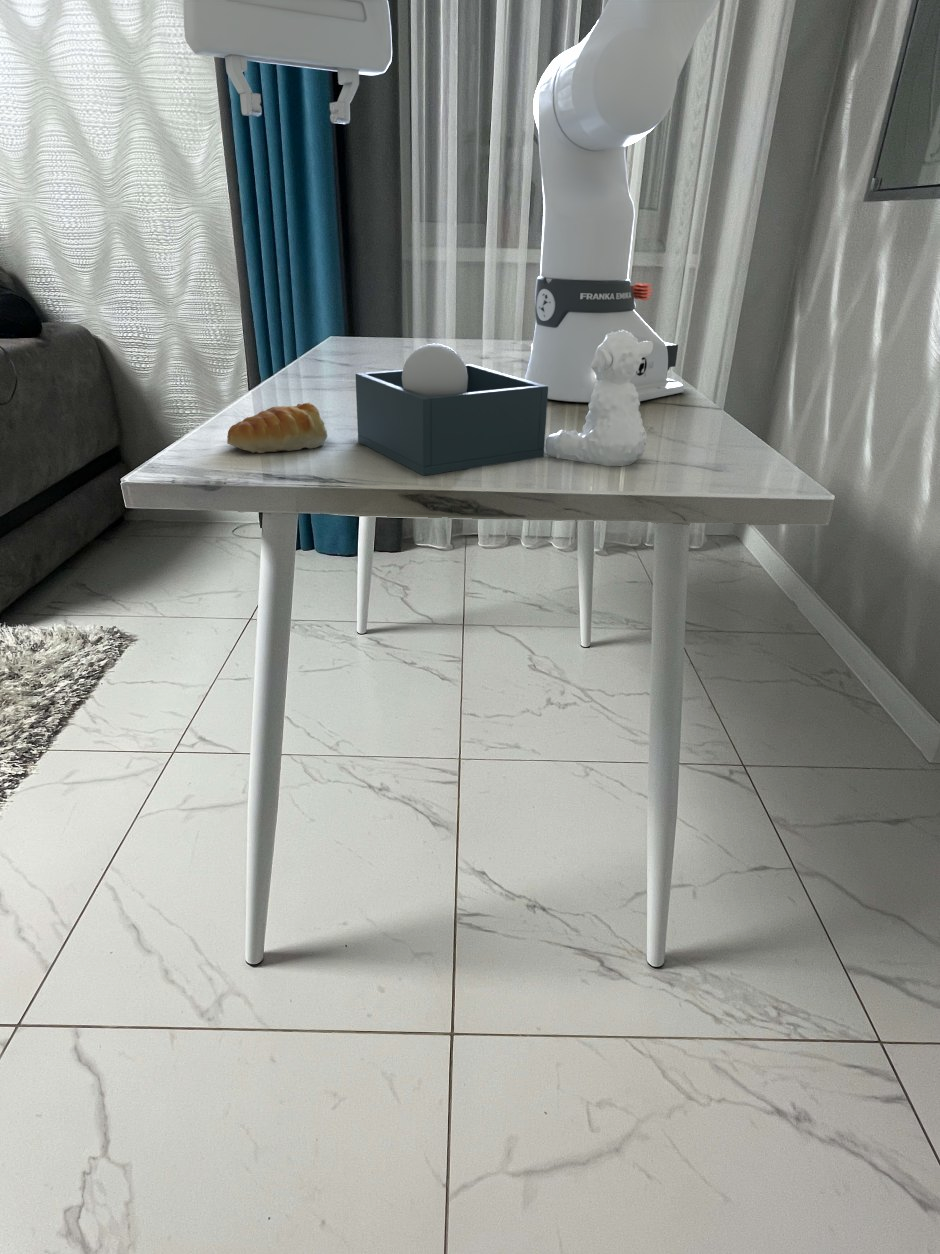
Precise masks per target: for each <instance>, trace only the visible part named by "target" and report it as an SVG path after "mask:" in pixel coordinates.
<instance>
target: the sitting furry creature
mask: <svg viewBox="0 0 940 1254" xmlns="http://www.w3.org/2000/svg"><path fill="white" fill-rule="evenodd" d="M652 349H653V343H652V341H644V342H640V343H638V339H637V338H635V337H634V336H633V335H632V333H627V332H626V331H624V330H622V331H617V332H612V333H608V334H607V335H606V338H605V340H604V342H603V343H602V344H601V345H599V346H598V347H597V350H596V354H595V357H594V359H593V362H592V364H591V368H592V369H593V370H594V371H595V374H596V379H597V381H598V383H596V384H595V389H594V390H593V393H592V395H591V402H588V405H587V407H588V409H589V411H588V412H587V415H585V421H586V422H585V423H584V424H583V426H582V431H581V432H578V431H577V430H575V429H573V430H569V431H568V430H566V429H560V430H559V431H558V432H555V433H552V434H549V435H547V436H546V438H545V443H544V451H545V453H546V455H548V456H550V457H553V458H556V459H558V460H559V459H563V460H567V461H575V462H580V463H586V464H587V463H588V464H595V465H600V466H605V467H623V466H624V467H625V466H629V465H632V464H634V463H635V462H636V461H637V460H638V459H640V458H641V457H642V456H643V453H644V452H645V446H646V445H647V444H646V441H647V437H648V434H647V432H646V429H645V427H644V425H643V422H644V420H643V419H642V417H641V412H640V410H639V409H640V405H641V401H639V400H638V396H639V395H638V392H637V391H636V388H635V386H634V384H632V383H630V379H631V378H632V377H634V375H635V373H636V371H637V370H638V369H639V366H640V364H641V361H642V358H643V357H646V356H648V355H650V354H651V352H652Z"/></svg>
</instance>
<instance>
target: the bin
mask: <svg viewBox="0 0 940 1254" xmlns="http://www.w3.org/2000/svg"><path fill="white" fill-rule="evenodd" d="M465 365H466V369H467V374H468V383H467V391H466V393H458V394H448V395H439V396H429V397H426V396H423V395H420V394H417V393H415V392H412V391H409V390H407V389H404V388H403V384H402V371H403V369H392V370H381V371H368V372H358V373H357V372H356V373H355V374H354V375H355V396H356V398H355V399H356V420H357V422H356V423H357V442H358V443H359V444H362V445H363V446H366V447H368V448H369V449H370V450H371V449H372V450H373V451H375V452H377V453H379V454H381V455H383V456H385V457H387V458H389V459H391V460H393V461H395V462H396V463H398V464H401V465H402V466H404V467H406V468H408V469H410V470H412V471H414V472H416V473H417V474H420V475H421V476H429V475H435V474H436V475H437V474H443V473H450V472H456V471H462V470H468V469H475V468H480V467H481V468H482V467H488V466H493V465H500V464H508V463H513V462H519V461H526V460H533V459H538V458H539V459H540V458H544V456H545V443H546V427H547V412H548V400H549V399H548V386H546V385H542V384H539V383H535V382H532V381H528V380H525V378H522V377H517V376H514V375H510V374H508V373H503V372H500V371H497V370H493V369H489V368H486V367H482V366H479V365H476V364H472V363H468V364H467V363H465Z"/></svg>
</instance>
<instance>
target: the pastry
mask: <svg viewBox="0 0 940 1254" xmlns="http://www.w3.org/2000/svg"><path fill="white" fill-rule="evenodd" d="M327 438H328V431H327V428H326V425H325V422H324V420H323V419H322V417H321V415H320V411H319V409H318V408H317V407H316V406H315V405H314V404H312V403H311V402H305V403H298V404H296V405H293V406H292V405H288V406H287V405H285V406H284V405H281V406H279V405H277V406H272V407H270V408H267V409H266V410H262V411H260V412H258V413H257V414H255V415H252V416H248V417H245V418H244V419H243V420H241V421H238V422H236V423H235V424H232V425H231V426H230V427H229V429H228V431H227V438H226V441H227V442H226V443H227V445H229V446H232V447H234V448H238V449H240V450H244V451H248V452H251V454H254V453H258V454H264V453H267V452H273V453H277V452H280V451H286V452H290V451H291V452H292V451H300V450H302V449H303V448H307V449H316V448H318V447H321V446H323V445H325V441H326V440H327Z"/></svg>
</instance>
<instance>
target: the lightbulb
mask: <svg viewBox="0 0 940 1254" xmlns="http://www.w3.org/2000/svg"><path fill="white" fill-rule="evenodd" d="M402 370H403V371H402V384H403V388H404V389H407V390H409V391H412V392H415V393H417V394H420V395H423V396H426V397H429V396H439V395H448V394H458V393H466V391H467V383H468V374H467V369H466V363H465V361H464V360H463V357H462V356H461V355H460V354H459V353H458V352H457V351H456V350H454V349H453V348H452V347H449V346H448V345H445V344H441V343H427V344H424V345H421V346H419V347H417V348H416V349H415V350H413V351H412V352H411V353H410V354H409V356H408V357H407V358H406V360H405V362H404V364H403V367H402Z"/></svg>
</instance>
